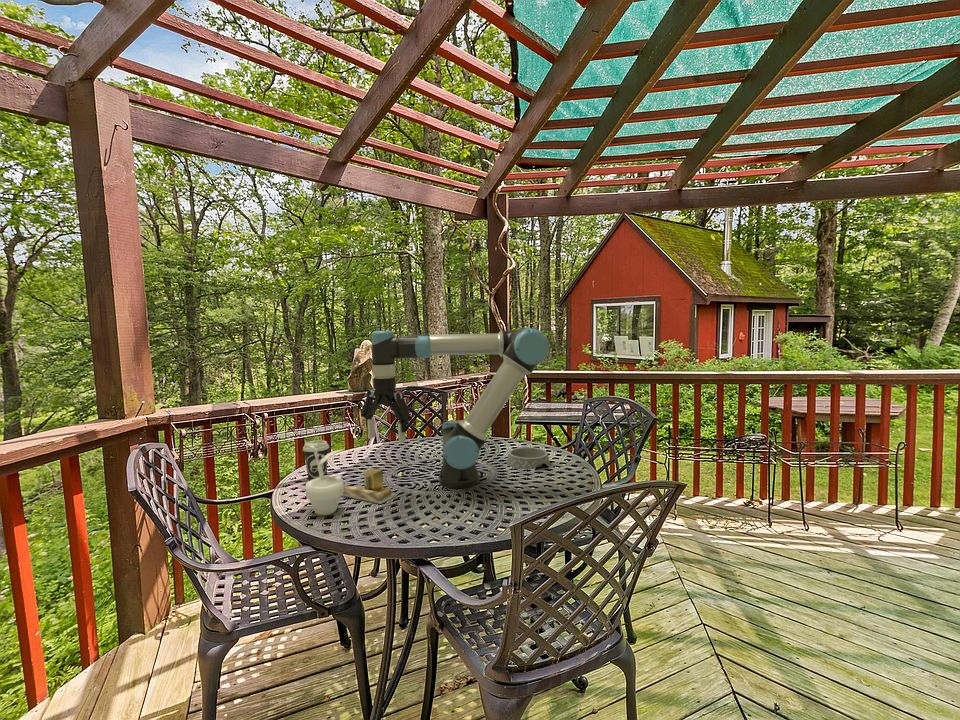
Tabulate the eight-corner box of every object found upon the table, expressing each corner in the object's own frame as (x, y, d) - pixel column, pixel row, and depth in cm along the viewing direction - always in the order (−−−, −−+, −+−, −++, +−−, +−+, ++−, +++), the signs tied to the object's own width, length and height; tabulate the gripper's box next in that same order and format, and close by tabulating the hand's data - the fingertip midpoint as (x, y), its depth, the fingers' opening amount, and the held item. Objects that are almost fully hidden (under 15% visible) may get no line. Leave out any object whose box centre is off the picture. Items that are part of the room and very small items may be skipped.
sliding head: (383, 490, 169) (382, 469, 168) (372, 496, 164) (371, 474, 163) (374, 488, 171) (373, 468, 170) (363, 494, 166) (362, 473, 165)
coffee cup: (336, 479, 186) (334, 441, 184) (318, 487, 177) (316, 447, 176) (317, 476, 190) (315, 438, 188) (298, 483, 181) (296, 444, 180)
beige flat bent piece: (393, 493, 167) (393, 486, 167) (378, 501, 160) (378, 494, 160) (356, 486, 175) (356, 479, 175) (340, 493, 168) (340, 486, 168)
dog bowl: (558, 465, 198) (558, 452, 198) (524, 474, 188) (524, 461, 188) (531, 456, 213) (531, 444, 212) (498, 463, 202) (498, 451, 202)
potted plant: (308, 522, 147) (304, 441, 145) (305, 508, 158) (301, 433, 155) (350, 514, 152) (347, 437, 150) (345, 501, 163) (342, 429, 160)
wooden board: (395, 496, 167) (395, 493, 167) (380, 504, 160) (380, 501, 160) (358, 488, 175) (358, 485, 175) (342, 495, 168) (342, 492, 168)
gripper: (421, 377, 158) (422, 440, 160) (364, 374, 170) (366, 433, 172) (406, 380, 152) (409, 446, 154) (348, 376, 164) (351, 438, 166)
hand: (386, 439), depth 163 cm, fingers open, 12 cm apart
